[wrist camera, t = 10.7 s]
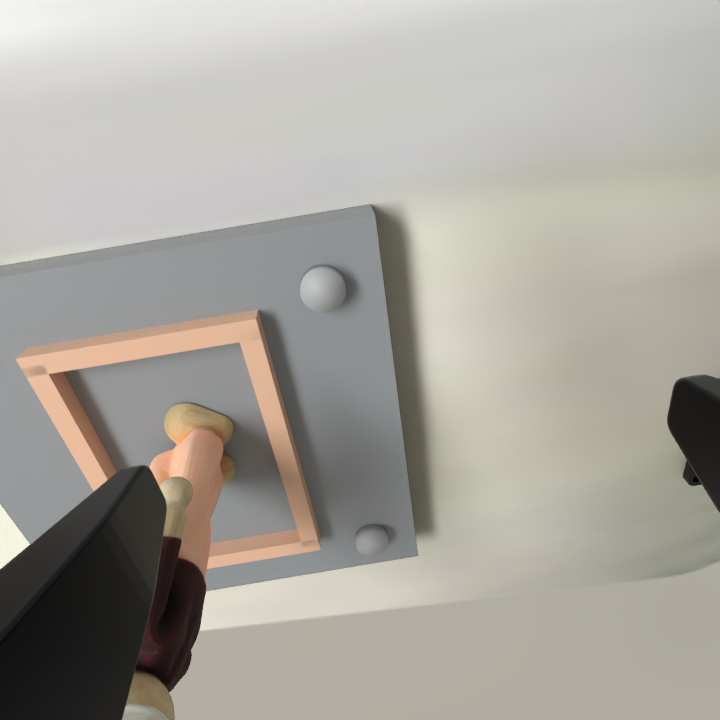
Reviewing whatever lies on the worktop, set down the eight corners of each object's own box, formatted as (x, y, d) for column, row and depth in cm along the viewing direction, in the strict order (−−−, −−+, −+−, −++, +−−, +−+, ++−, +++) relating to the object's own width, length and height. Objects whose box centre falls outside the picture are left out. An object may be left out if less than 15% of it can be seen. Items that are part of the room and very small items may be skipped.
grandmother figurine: (129, 386, 19) (-106, 798, 8) (228, 376, 19) (124, 768, 9) (178, 521, 23) (61, 920, 12) (260, 512, 23) (215, 899, 13)
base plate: (370, 204, 18) (378, 221, 16) (413, 532, 27) (420, 568, 25) (-117, 285, 18) (-170, 312, 16) (91, 586, 27) (74, 626, 25)
